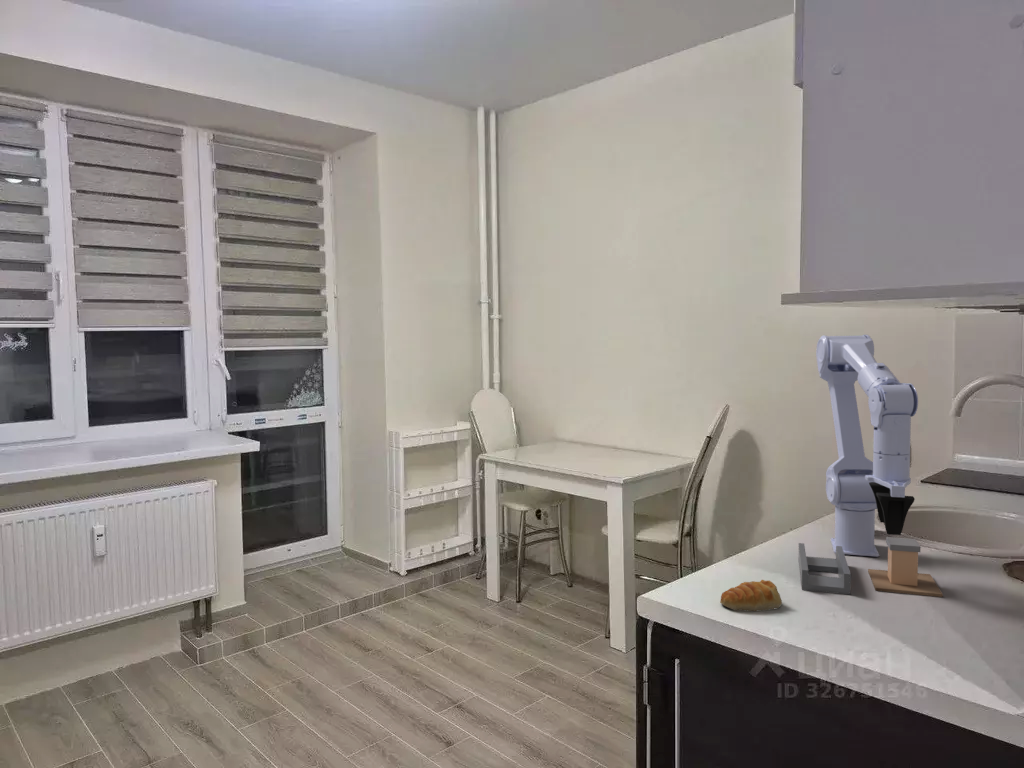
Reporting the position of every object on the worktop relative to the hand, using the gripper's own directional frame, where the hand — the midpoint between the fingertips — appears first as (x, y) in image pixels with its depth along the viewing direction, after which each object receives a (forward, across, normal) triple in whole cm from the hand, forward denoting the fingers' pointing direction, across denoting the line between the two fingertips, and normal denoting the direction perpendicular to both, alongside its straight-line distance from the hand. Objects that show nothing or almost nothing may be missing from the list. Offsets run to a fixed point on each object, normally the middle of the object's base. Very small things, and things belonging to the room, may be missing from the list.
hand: (889, 528), depth 125 cm
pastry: (+10, +19, -23) cm, 31 cm away
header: (+9, +2, -11) cm, 14 cm away
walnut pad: (+9, +2, +2) cm, 10 cm away
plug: (+9, +2, +2) cm, 9 cm away
